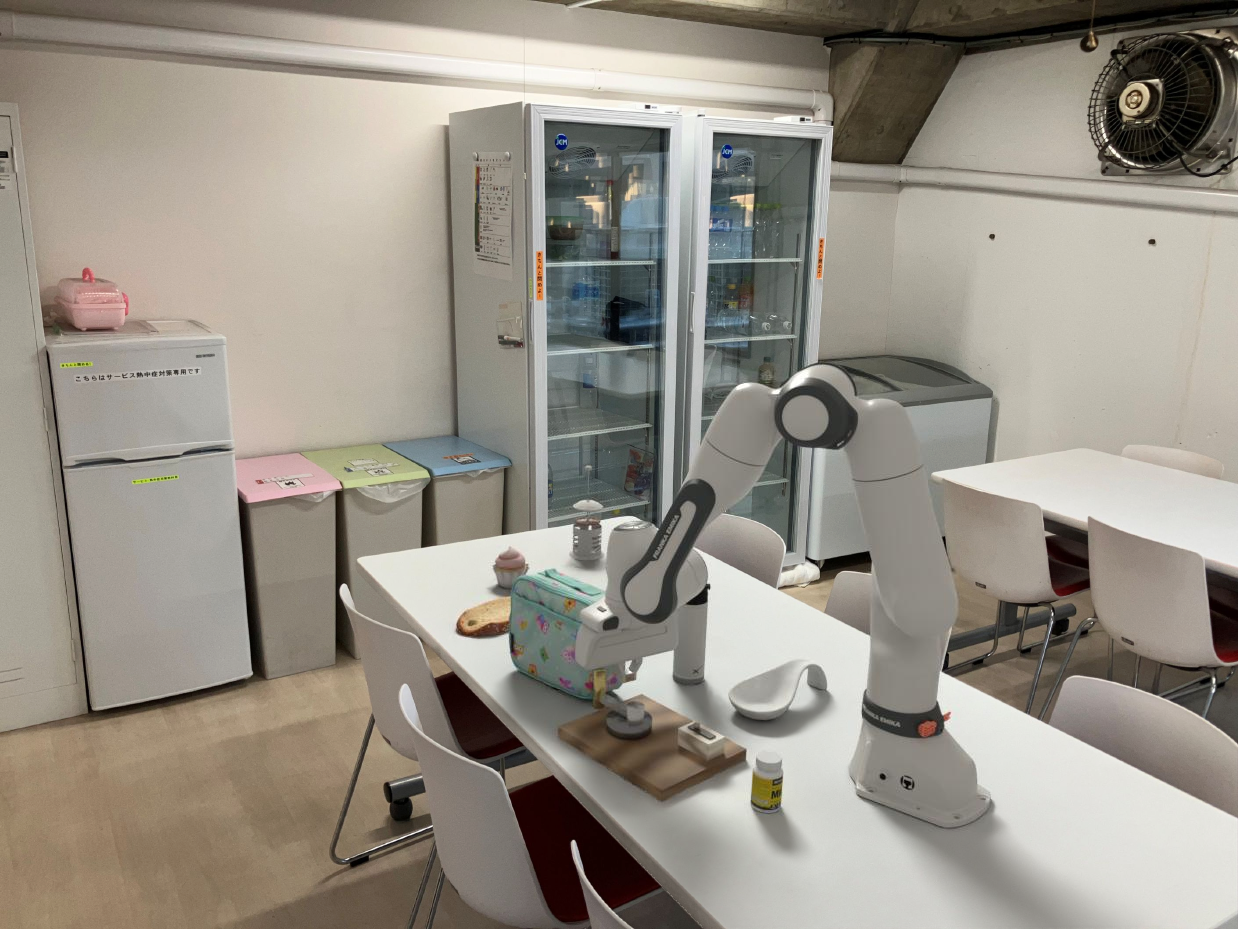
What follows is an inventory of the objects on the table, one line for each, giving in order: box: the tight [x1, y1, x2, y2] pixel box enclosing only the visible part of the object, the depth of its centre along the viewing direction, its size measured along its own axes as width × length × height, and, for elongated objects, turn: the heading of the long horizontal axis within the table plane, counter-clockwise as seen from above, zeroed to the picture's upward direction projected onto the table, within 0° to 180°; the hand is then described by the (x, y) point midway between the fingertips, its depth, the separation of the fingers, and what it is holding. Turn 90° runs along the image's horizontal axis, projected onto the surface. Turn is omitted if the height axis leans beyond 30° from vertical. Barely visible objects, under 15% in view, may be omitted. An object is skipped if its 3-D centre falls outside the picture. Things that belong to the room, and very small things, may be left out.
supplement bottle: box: [750, 750, 784, 814], centre depth 153 cm, size 5×5×8 cm
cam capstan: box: [592, 668, 652, 740], centre depth 173 cm, size 13×8×8 cm, turn 42°
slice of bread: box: [455, 596, 511, 638], centre depth 224 cm, size 18×18×4 cm
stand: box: [557, 693, 747, 803], centre depth 170 cm, size 26×20×6 cm
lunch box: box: [508, 567, 627, 700], centre depth 193 cm, size 27×10×21 cm, turn 47°
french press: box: [568, 465, 605, 561], centre depth 269 cm, size 10×12×25 cm
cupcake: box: [491, 545, 530, 589], centre depth 245 cm, size 9×9×10 cm
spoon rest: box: [728, 658, 828, 721], centre depth 187 cm, size 24×12×7 cm, turn 133°
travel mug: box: [672, 583, 711, 685], centre depth 195 cm, size 6×7×20 cm
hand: (627, 680), depth 179 cm, fingers closed
